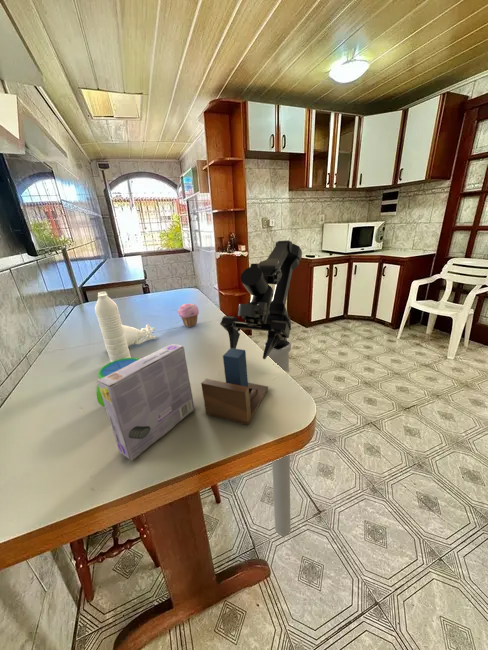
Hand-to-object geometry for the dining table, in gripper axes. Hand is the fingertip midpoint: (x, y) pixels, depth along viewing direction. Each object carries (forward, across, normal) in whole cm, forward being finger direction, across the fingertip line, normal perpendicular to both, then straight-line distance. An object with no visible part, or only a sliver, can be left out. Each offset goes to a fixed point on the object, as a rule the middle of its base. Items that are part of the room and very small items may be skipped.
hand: (247, 356), depth 71 cm
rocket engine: (0, -53, +13) cm, 54 cm away
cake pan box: (+22, -13, -9) cm, 27 cm away
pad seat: (+12, 0, +1) cm, 12 cm away
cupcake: (-17, -43, +30) cm, 55 cm away
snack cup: (+18, -28, -5) cm, 34 cm away
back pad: (+11, 0, 0) cm, 11 cm away
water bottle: (+8, -46, +5) cm, 47 cm away
